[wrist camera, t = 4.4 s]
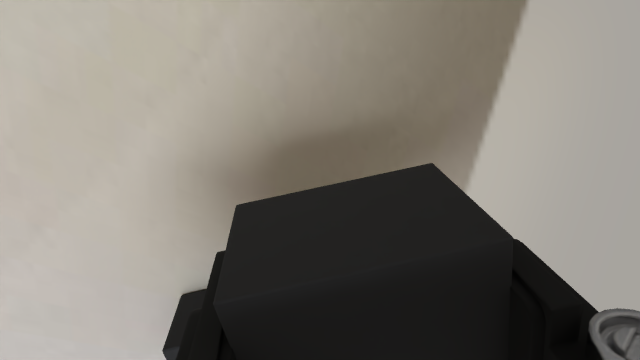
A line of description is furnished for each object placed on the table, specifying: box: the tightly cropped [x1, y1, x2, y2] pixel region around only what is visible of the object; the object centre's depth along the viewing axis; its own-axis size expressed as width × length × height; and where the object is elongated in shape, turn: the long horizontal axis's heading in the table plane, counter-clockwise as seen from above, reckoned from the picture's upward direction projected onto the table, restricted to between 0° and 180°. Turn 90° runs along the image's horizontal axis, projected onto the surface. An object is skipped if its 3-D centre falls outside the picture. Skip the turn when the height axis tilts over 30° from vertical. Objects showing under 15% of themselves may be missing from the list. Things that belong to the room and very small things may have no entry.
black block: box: [213, 163, 513, 360], centre depth 9 cm, size 5×5×4 cm
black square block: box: [163, 290, 206, 360], centre depth 18 cm, size 5×5×4 cm
